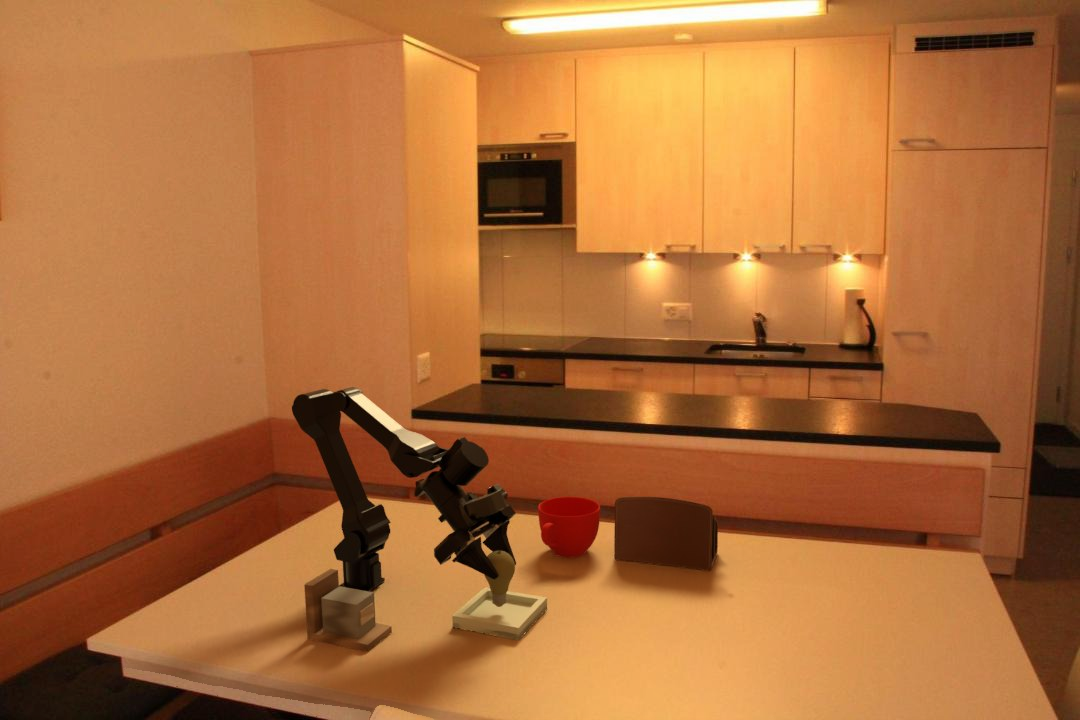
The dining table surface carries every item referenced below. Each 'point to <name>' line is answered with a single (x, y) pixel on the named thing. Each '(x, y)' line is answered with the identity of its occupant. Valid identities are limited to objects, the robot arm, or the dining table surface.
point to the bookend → (341, 614)
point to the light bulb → (500, 576)
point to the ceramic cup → (569, 525)
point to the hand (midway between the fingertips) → (505, 571)
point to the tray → (500, 614)
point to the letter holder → (665, 532)
